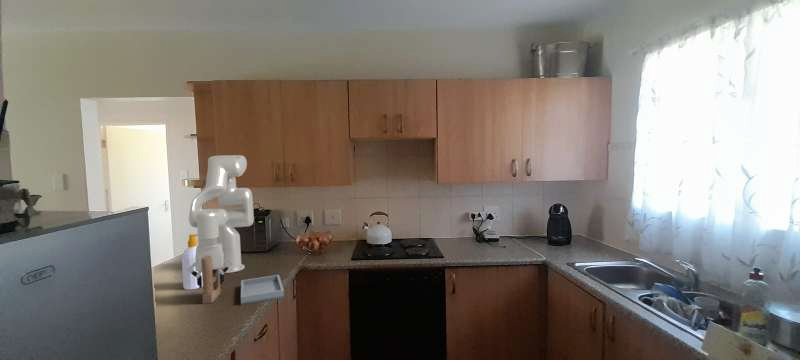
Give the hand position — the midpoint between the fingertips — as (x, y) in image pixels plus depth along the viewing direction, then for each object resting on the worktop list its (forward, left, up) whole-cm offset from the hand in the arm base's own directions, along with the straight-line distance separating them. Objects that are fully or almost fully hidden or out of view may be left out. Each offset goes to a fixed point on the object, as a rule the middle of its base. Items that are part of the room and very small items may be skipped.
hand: (211, 284), depth 141 cm
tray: (+2, +19, -6) cm, 20 cm away
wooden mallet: (0, 0, -6) cm, 6 cm away
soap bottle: (-20, -8, -6) cm, 22 cm away
